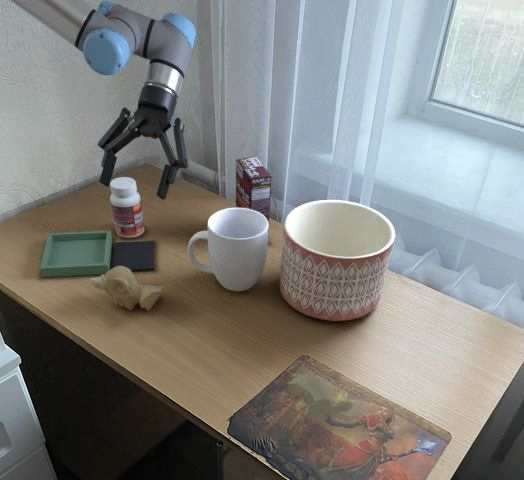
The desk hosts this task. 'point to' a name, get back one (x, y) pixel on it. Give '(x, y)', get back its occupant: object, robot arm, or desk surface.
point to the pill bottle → (126, 207)
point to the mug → (234, 247)
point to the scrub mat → (134, 255)
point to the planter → (335, 259)
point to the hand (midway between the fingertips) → (131, 190)
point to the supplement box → (253, 186)
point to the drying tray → (76, 254)
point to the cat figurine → (127, 288)
